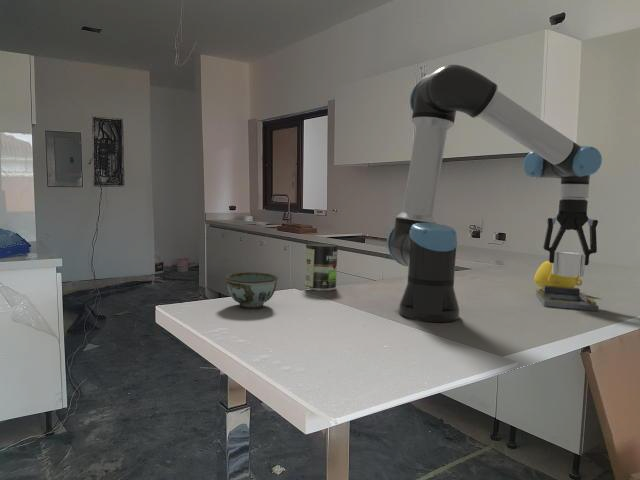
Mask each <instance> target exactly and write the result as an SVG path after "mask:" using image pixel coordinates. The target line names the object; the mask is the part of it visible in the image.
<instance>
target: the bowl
mask: <svg viewBox="0 0 640 480" xmlns="http://www.w3.org/2000/svg"><path fill="white" fill-rule="evenodd" d="M225 280H226V285H227V291H228V293H229V295H230V297H231V299H233V300H234V302H236V303H238V305H239V307H241V308H242V309H249V310H250V309H251V310H255V309H261V308H263V307H264V303H267V302H269V300H270V299H271V298H272V297H273V296H274V294H275V292H276V288H277V282H278V280H279V276H277V275H275V274H271V273H266V272H255V271H250V272H249V271H248V272H247V271H246V272H244V271H243V272H234V273H233V272H232V273H229V274H227V275H226V276H225Z"/></svg>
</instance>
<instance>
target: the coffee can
mask: <svg viewBox="0 0 640 480" xmlns="http://www.w3.org/2000/svg"><path fill="white" fill-rule="evenodd" d="M305 248H306V251H305V274H304V276H305V278H304V279H305V280H304V288H305V289H307V290H309V291H310V290H311V291H321V292H329V291H335V290H336V289H337V272H338V271H337V268H338V250H339V249H338V248H339V245H338V244H335V243H322V242H320V243H319V242H318V243H317V242H313V243H312V242H311V243H306V244H305Z"/></svg>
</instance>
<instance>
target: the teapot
mask: <svg viewBox="0 0 640 480" xmlns="http://www.w3.org/2000/svg"><path fill="white" fill-rule="evenodd" d="M552 264H553V263H550V262H549V260H546V261H543V262H542V263H541V264H540V266H539V267H538V268H537V270H536V272H535V274H534V277H533V281H534V283H535V284H536V285H537V287H540V288H541V290H540V291H543V286H544V285H550V286H562V287H574V288H575V286H577V287H579V286H582V285H583V280H582V279H580V278H581V276H579V274H578V277H564V276H559V275H557V268H556V275H553V274H552Z"/></svg>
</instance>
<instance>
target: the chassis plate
mask: <svg viewBox="0 0 640 480" xmlns="http://www.w3.org/2000/svg"><path fill="white" fill-rule="evenodd" d="M542 288H543V291H541V290H536V292H535V295H536V297H537V298H538V300H539V301H540V303H541V305H543V307H546V308H547V307H549V308H555V309H556V308H557V309H559V308H560V309H566V308H570V309H569V310H577V309H580V310H579V311H588V310H589V311H591V312H599V308H600V307H599V305H598V304H597V301H595V300H594V299H593V298H591V297H588V296H586V295H585V294H583V293H580V291H581V289H580V288H579V287H575V286H574V287H562V286H550V285H544V286H543V287H542ZM561 299H565V300H561ZM573 300H575V301H573ZM579 301H580V302H579Z"/></svg>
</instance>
